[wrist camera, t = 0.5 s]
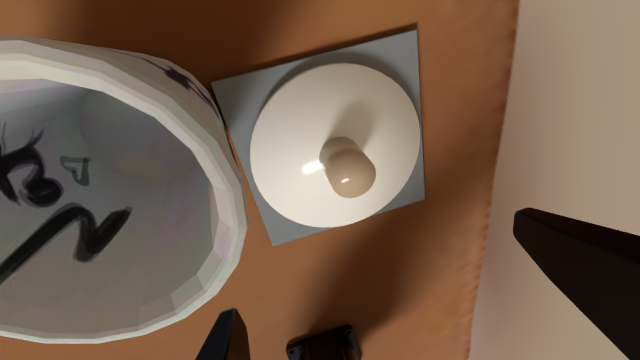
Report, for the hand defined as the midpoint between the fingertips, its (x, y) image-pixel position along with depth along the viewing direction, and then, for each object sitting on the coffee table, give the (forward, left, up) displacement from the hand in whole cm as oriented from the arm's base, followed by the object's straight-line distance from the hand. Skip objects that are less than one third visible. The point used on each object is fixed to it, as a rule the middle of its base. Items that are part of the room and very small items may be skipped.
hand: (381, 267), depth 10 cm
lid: (-2, -1, -12) cm, 12 cm away
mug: (+2, +11, -12) cm, 17 cm away
